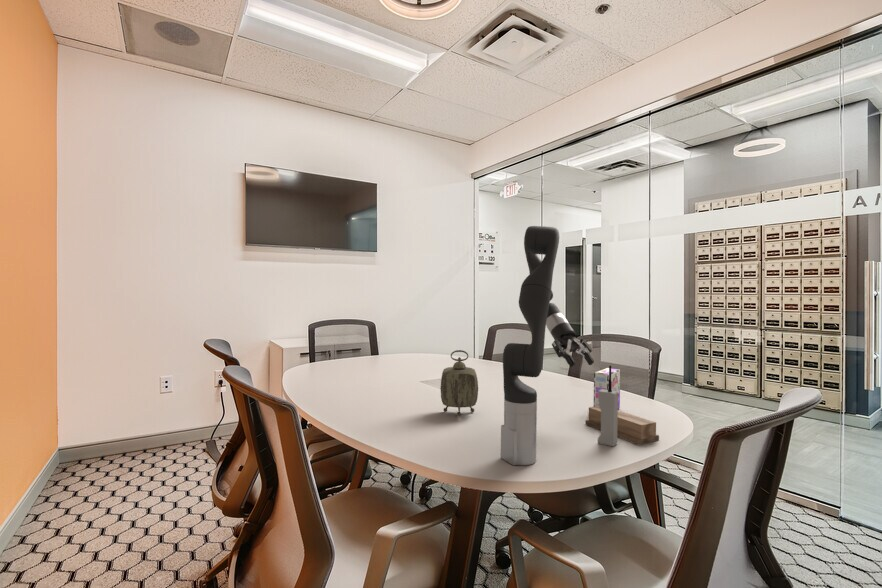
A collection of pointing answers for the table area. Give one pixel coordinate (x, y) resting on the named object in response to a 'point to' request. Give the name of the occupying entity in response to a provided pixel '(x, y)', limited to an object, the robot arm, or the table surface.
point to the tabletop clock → (459, 385)
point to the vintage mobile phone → (608, 415)
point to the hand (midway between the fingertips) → (582, 364)
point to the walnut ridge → (627, 426)
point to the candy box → (606, 383)
